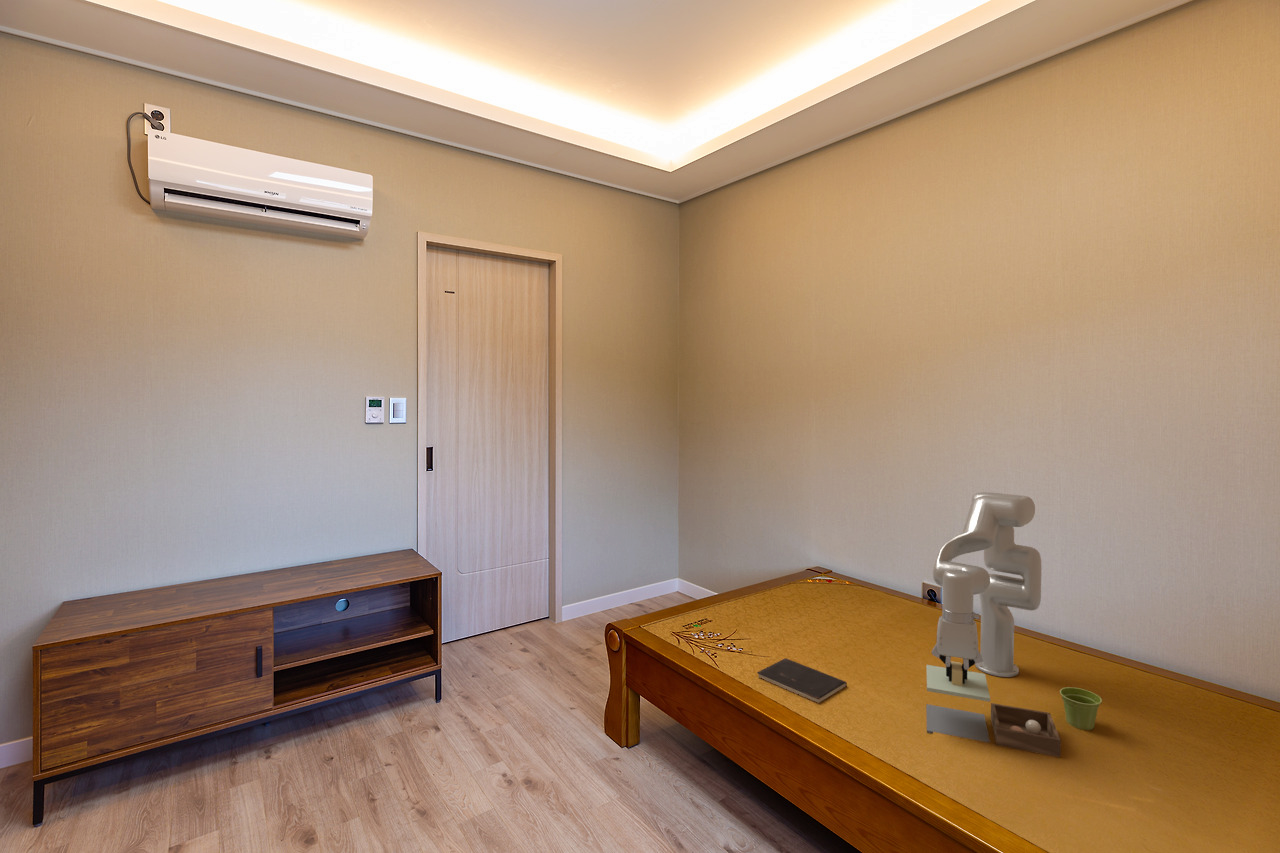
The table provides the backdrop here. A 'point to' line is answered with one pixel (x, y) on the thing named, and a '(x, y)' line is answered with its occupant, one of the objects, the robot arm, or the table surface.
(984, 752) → the table surface
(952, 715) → the felt mat
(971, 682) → the lid
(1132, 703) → the table surface
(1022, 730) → the terracotta ball
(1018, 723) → the walnut box
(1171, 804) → the table surface
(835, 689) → the hardcover book
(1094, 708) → the plant pot
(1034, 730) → the cream ball
